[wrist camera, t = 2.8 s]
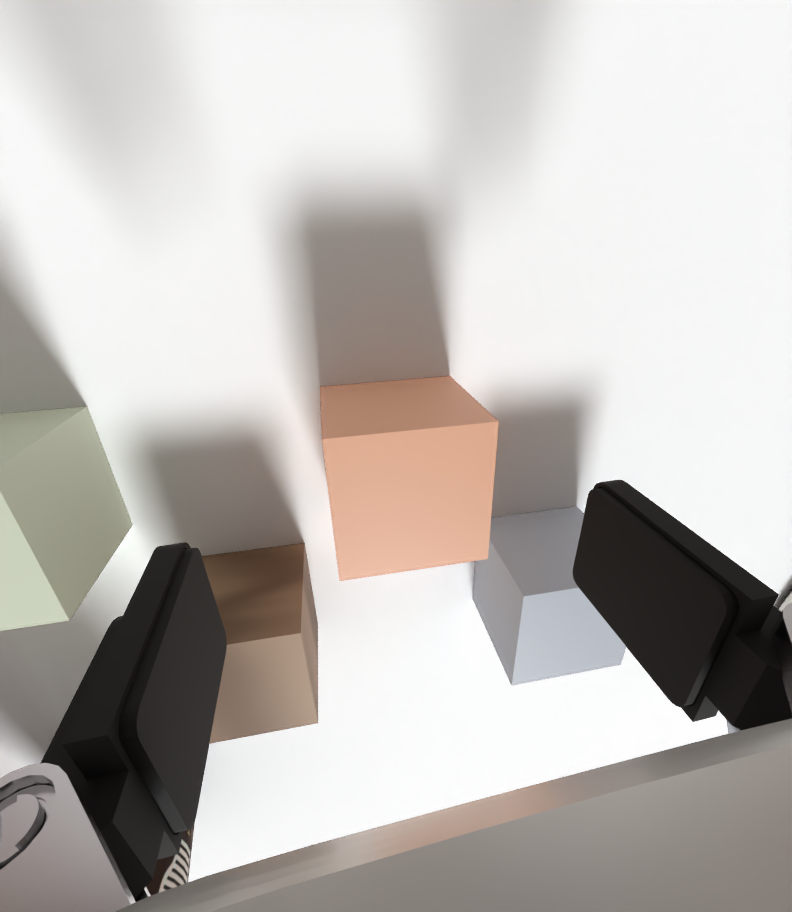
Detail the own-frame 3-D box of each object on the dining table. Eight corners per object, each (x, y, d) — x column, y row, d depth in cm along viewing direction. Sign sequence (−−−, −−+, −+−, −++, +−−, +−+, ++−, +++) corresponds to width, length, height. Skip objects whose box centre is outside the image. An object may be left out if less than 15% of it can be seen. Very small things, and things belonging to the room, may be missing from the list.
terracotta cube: (449, 375, 16) (499, 421, 12) (446, 485, 19) (487, 559, 14) (320, 386, 16) (321, 439, 11) (333, 499, 18) (339, 580, 13)
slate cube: (575, 505, 20) (647, 576, 16) (561, 583, 23) (620, 664, 18) (477, 518, 20) (523, 596, 15) (472, 597, 22) (511, 685, 18)
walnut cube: (304, 541, 19) (300, 633, 14) (317, 622, 21) (317, 723, 16) (185, 557, 18) (143, 658, 14) (212, 638, 20) (183, 748, 16)
